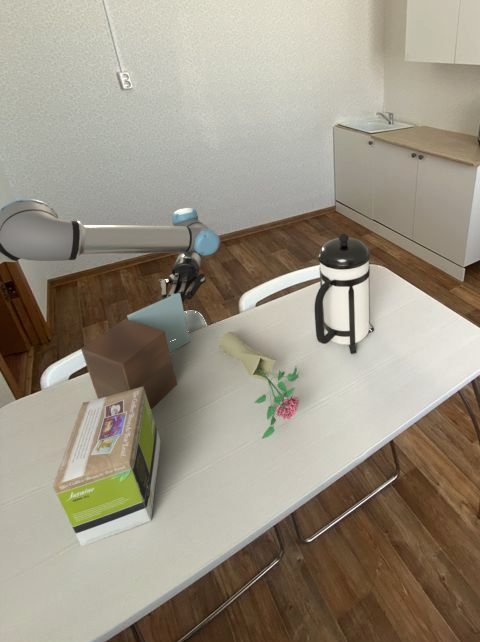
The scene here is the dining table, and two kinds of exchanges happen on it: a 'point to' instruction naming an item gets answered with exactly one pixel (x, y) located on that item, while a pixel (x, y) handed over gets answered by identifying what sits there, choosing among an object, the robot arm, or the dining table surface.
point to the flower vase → (262, 376)
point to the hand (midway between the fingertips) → (170, 313)
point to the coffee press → (343, 292)
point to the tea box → (110, 466)
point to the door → (165, 320)
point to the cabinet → (130, 361)
